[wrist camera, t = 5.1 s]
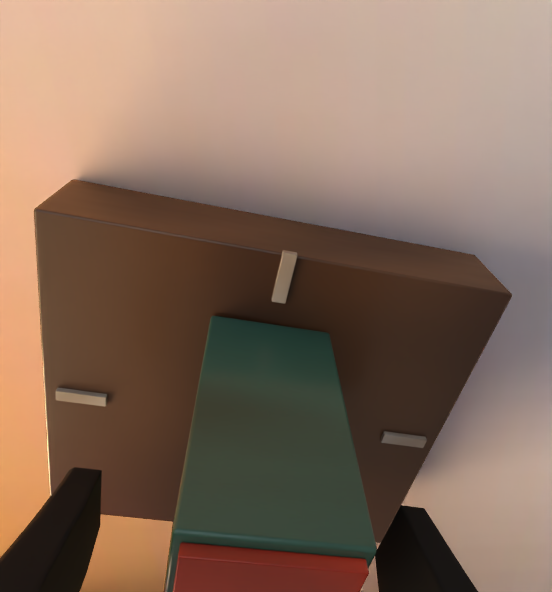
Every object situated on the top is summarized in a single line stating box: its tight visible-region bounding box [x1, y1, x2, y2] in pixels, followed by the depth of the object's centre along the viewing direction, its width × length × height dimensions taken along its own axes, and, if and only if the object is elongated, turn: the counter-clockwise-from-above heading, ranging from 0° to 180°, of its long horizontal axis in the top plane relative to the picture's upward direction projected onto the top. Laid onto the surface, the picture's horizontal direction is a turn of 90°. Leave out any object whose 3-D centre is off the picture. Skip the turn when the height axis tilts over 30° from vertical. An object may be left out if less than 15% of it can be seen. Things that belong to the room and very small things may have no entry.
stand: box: [34, 180, 512, 543], centre depth 15 cm, size 12×11×3 cm
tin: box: [164, 316, 377, 592], centre depth 11 cm, size 7×3×6 cm, turn 169°
